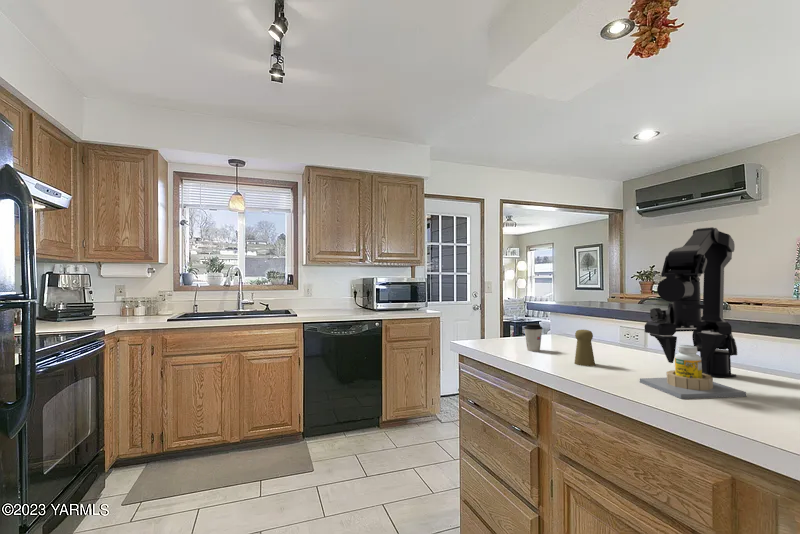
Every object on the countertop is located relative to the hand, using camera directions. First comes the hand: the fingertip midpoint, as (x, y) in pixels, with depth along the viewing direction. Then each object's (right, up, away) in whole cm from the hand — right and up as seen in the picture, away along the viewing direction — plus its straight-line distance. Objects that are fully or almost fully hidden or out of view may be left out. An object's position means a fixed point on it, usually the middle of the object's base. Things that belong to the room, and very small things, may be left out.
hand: (688, 362), depth 96 cm
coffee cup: (-21, -9, +52) cm, 56 cm away
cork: (-12, -8, +28) cm, 32 cm away
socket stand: (0, -7, 0) cm, 7 cm away
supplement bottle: (0, -6, 0) cm, 6 cm away
